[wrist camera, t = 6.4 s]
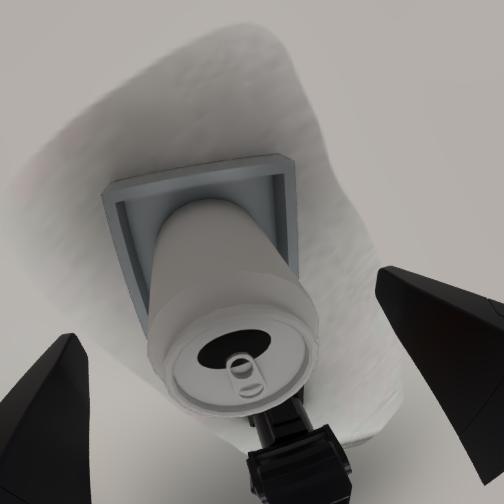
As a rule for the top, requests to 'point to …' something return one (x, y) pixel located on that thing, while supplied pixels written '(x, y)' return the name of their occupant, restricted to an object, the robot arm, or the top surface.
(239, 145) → the top surface
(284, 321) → the can
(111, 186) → the bin
